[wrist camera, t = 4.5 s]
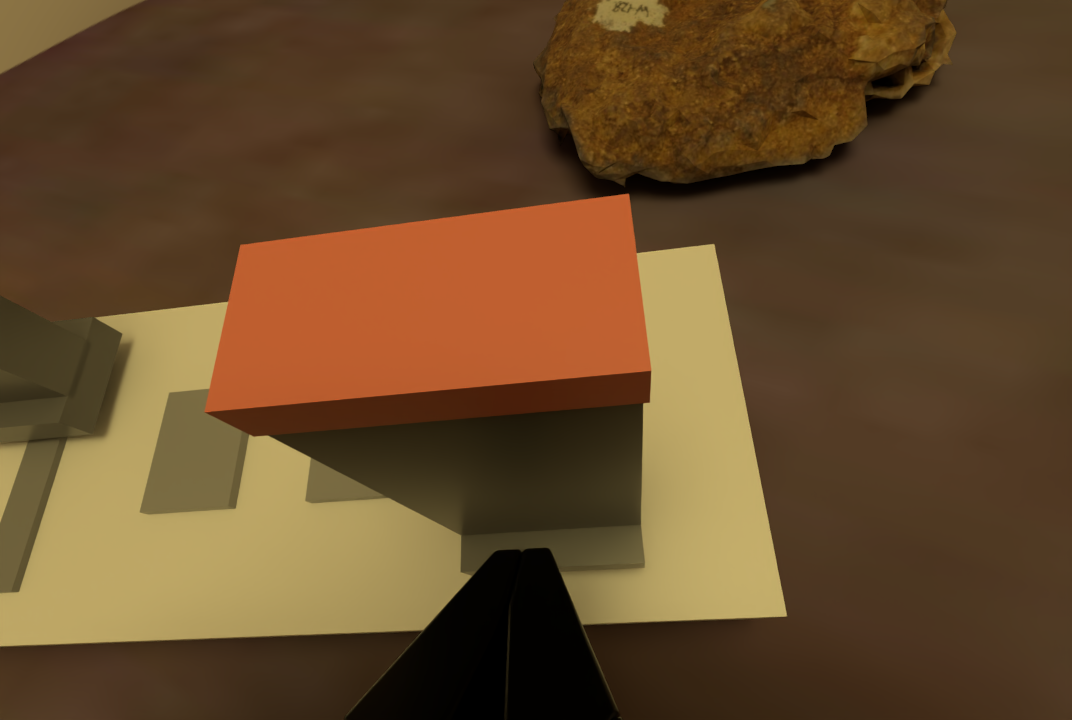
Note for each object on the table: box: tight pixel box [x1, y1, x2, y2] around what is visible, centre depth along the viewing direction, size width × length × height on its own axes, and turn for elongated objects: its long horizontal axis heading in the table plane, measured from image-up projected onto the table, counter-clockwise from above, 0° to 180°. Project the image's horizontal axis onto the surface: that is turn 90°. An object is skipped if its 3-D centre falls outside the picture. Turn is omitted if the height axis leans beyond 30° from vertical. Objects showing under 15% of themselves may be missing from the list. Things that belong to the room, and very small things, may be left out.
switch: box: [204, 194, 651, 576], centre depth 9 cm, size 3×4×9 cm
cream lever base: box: [0, 244, 787, 647], centre depth 17 cm, size 9×23×4 cm, turn 92°
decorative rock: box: [533, 0, 956, 187], centre depth 22 cm, size 11×4×15 cm
